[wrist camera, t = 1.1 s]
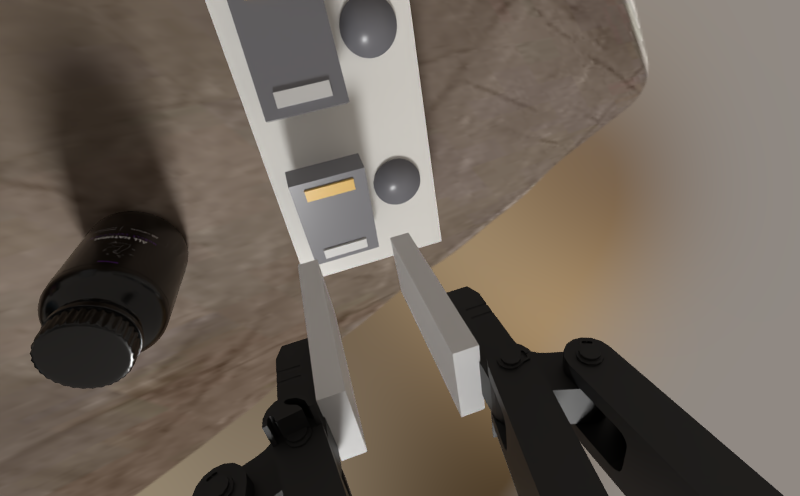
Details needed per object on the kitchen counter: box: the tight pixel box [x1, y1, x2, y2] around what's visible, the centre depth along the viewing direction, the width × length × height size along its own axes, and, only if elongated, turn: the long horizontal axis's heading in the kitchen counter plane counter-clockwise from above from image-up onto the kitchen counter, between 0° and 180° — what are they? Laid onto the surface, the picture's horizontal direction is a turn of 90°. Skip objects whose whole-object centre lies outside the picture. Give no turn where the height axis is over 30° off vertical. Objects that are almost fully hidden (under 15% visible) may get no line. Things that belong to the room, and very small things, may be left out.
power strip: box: [205, 0, 441, 276], centre depth 26 cm, size 11×32×6 cm, turn 10°
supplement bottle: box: [30, 211, 188, 389], centre depth 28 cm, size 7×7×12 cm
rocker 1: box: [227, 0, 350, 123], centre depth 22 cm, size 5×7×2 cm, turn 10°
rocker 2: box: [285, 153, 379, 264], centre depth 28 cm, size 5×7×2 cm, turn 10°
